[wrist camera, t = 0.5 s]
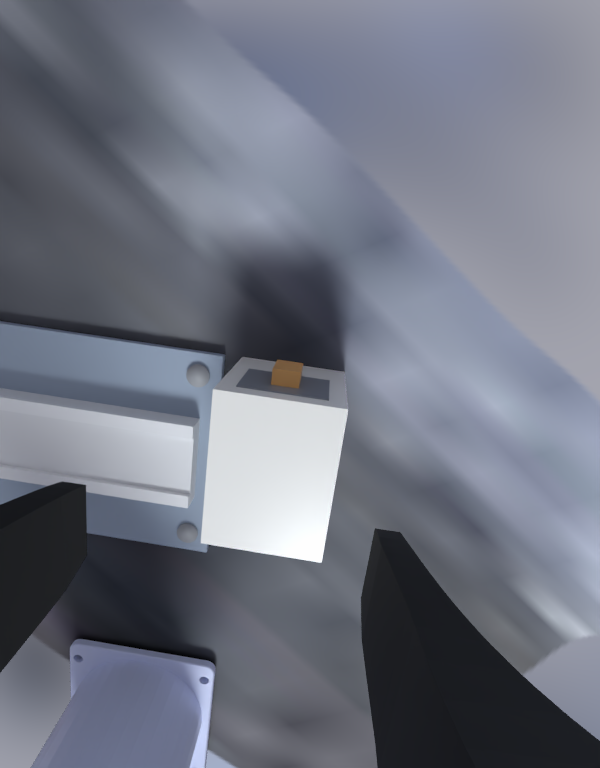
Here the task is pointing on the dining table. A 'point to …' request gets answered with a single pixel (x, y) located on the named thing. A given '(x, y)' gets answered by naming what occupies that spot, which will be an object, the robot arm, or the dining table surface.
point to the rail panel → (109, 428)
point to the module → (273, 457)
